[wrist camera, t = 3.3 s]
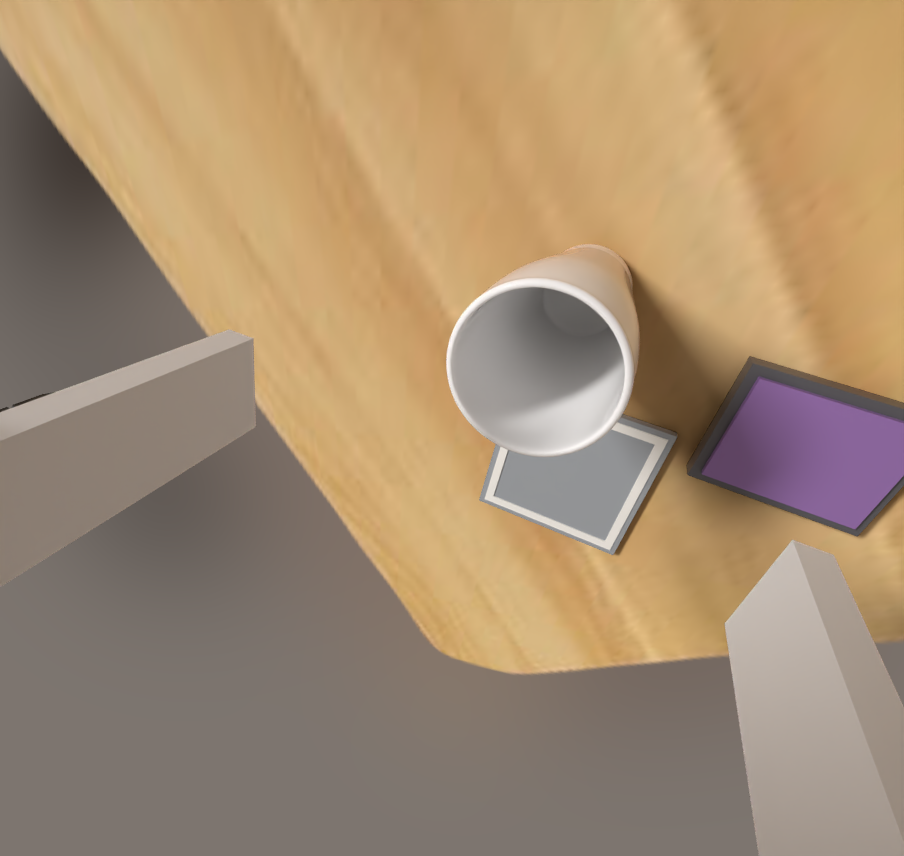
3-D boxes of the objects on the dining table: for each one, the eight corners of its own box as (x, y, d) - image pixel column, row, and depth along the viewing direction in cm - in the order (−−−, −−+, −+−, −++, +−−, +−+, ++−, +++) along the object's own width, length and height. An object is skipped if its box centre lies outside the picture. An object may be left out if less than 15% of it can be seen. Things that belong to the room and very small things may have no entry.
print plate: (481, 496, 39) (478, 500, 38) (517, 377, 33) (514, 381, 33) (613, 550, 37) (613, 556, 36) (676, 432, 31) (677, 437, 30)
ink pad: (686, 465, 32) (687, 478, 30) (749, 356, 27) (754, 365, 26) (850, 524, 29) (859, 540, 28) (946, 415, 25) (962, 429, 24)
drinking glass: (527, 236, 29) (428, 285, 16) (648, 221, 26) (639, 265, 14) (535, 345, 32) (456, 456, 19) (644, 341, 29) (635, 466, 17)
